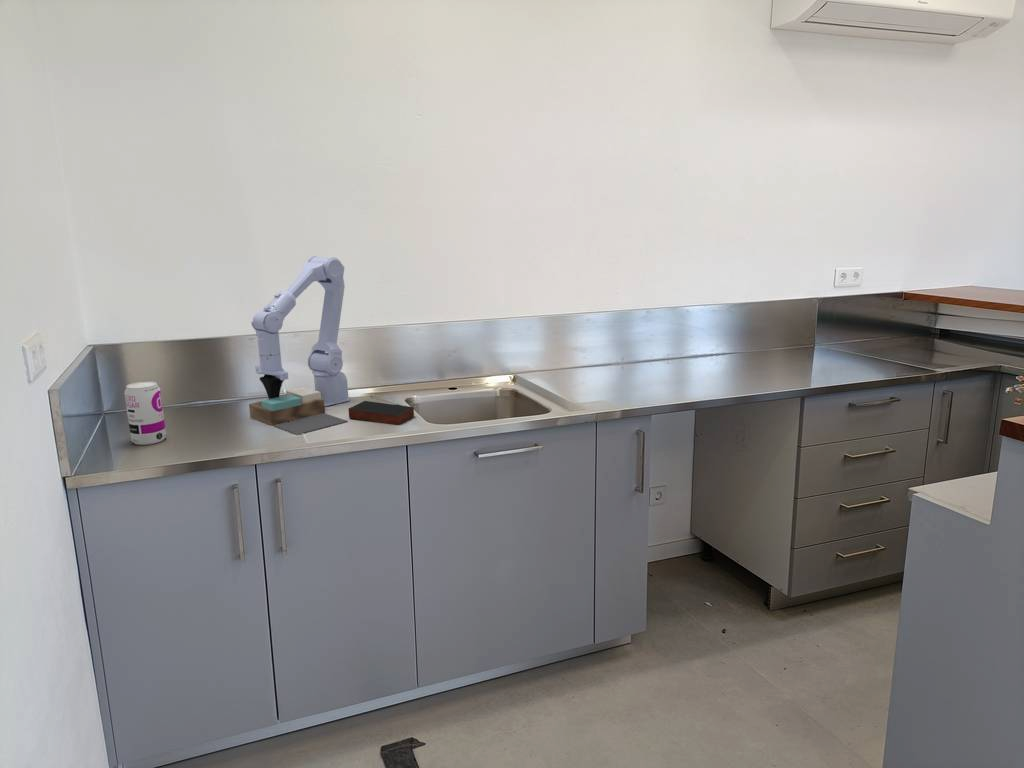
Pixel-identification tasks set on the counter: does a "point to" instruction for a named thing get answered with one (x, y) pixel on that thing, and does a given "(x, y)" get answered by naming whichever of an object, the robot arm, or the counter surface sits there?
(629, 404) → the counter surface
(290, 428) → the mat
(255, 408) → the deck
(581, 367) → the counter surface
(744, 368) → the counter surface
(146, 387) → the supplement can
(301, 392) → the cream flat block
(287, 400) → the turquoise block
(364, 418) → the kitchen sponge
